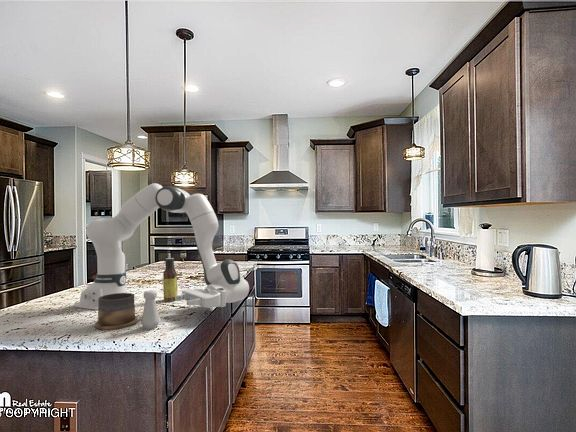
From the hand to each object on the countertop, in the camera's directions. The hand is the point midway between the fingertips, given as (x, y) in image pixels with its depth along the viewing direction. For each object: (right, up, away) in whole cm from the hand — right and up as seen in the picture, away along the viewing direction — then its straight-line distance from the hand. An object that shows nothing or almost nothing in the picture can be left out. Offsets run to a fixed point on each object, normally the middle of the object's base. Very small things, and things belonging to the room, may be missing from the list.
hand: (181, 300), depth 124 cm
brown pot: (-23, -8, -3) cm, 24 cm away
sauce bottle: (-16, -8, +32) cm, 36 cm away
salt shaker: (-8, -8, -8) cm, 14 cm away
